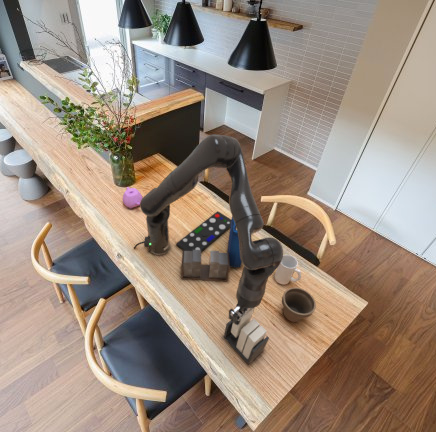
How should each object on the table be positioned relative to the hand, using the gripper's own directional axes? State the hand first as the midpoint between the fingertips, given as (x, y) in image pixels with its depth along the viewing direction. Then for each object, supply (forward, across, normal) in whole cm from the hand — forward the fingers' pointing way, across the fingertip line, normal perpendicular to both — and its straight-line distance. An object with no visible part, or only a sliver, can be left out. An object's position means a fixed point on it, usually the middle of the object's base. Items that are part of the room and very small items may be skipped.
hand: (242, 316), depth 100 cm
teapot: (+16, -10, -85) cm, 87 cm away
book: (+16, -29, -29) cm, 44 cm away
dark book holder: (+16, 0, +3) cm, 16 cm away
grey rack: (+16, -10, -29) cm, 34 cm away
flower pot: (+16, -24, +7) cm, 29 cm away
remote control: (+16, -25, -45) cm, 54 cm away
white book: (+10, 0, 0) cm, 10 cm away
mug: (+16, -34, -4) cm, 37 cm away
